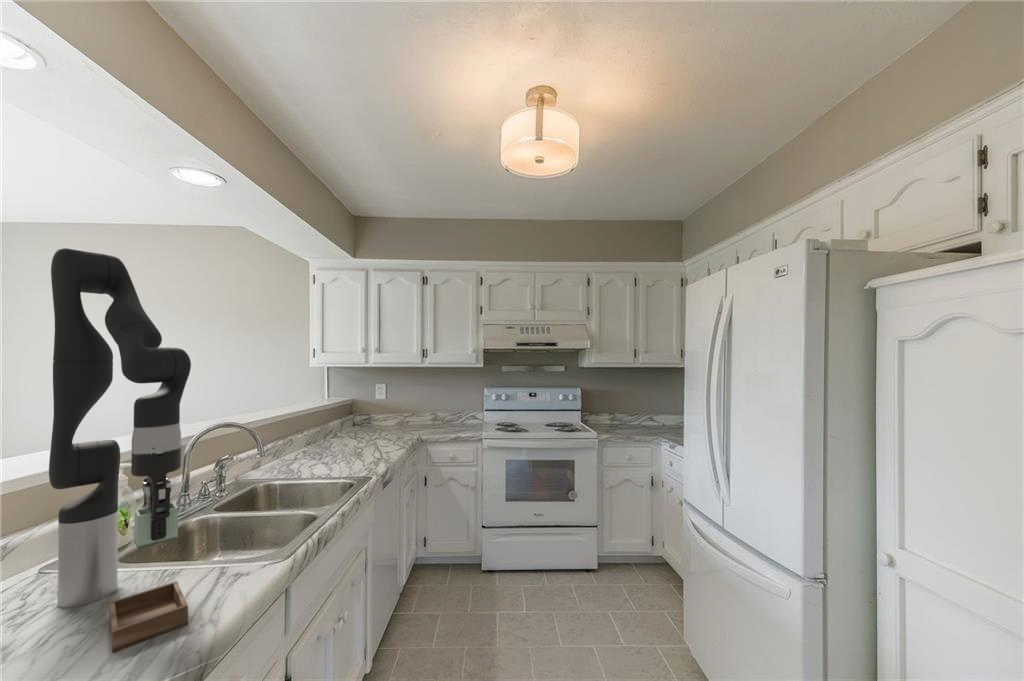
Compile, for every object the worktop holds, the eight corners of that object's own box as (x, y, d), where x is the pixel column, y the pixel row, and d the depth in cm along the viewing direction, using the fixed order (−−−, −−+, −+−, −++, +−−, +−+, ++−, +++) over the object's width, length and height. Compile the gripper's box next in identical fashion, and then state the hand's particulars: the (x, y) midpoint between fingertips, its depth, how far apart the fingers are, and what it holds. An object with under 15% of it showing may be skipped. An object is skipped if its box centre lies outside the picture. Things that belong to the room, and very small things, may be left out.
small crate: (134, 541, 82) (134, 510, 83) (173, 531, 87) (173, 502, 87) (137, 548, 79) (137, 516, 79) (177, 538, 83) (178, 507, 84)
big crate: (109, 620, 82) (109, 602, 82) (176, 597, 90) (176, 580, 90) (112, 652, 73) (112, 632, 73) (187, 624, 80) (187, 605, 80)
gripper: (127, 446, 86) (126, 531, 85) (136, 456, 76) (135, 552, 75) (174, 440, 91) (173, 520, 91) (187, 449, 81) (187, 539, 81)
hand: (156, 534), depth 83 cm, fingers closed on small crate, 5 cm apart
